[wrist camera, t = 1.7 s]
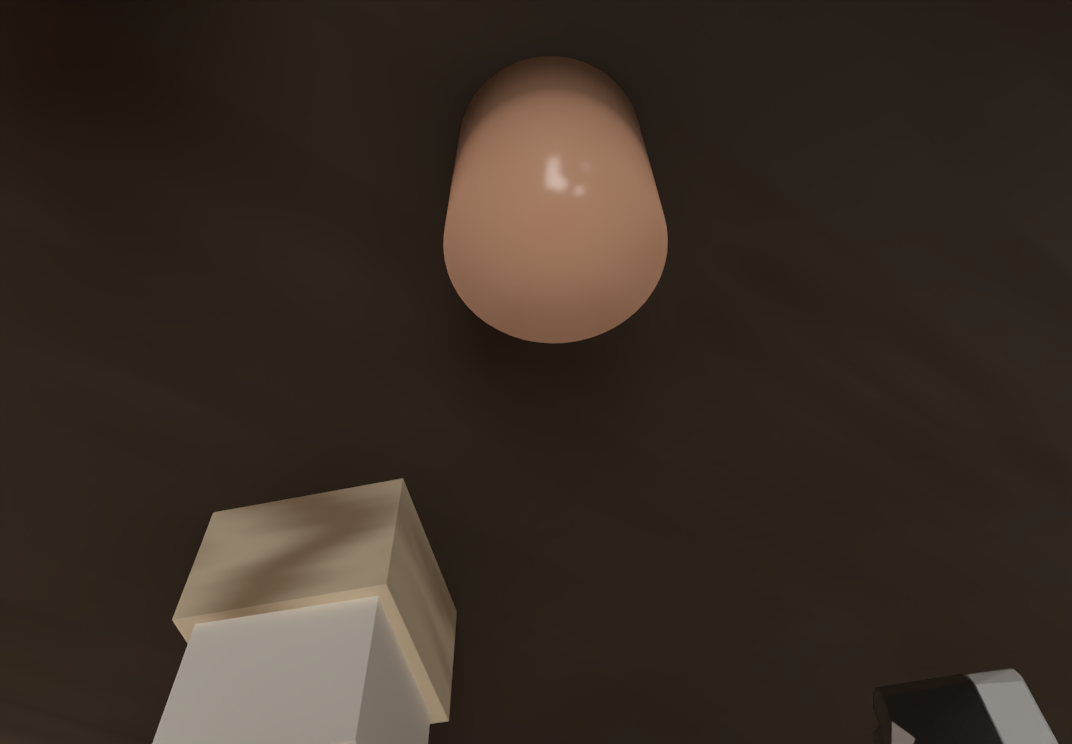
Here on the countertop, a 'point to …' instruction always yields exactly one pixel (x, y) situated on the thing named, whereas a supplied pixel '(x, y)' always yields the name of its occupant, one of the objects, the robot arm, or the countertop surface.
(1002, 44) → the countertop surface
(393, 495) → the tower base
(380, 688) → the tower top
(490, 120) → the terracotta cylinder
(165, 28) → the countertop surface
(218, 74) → the countertop surface
